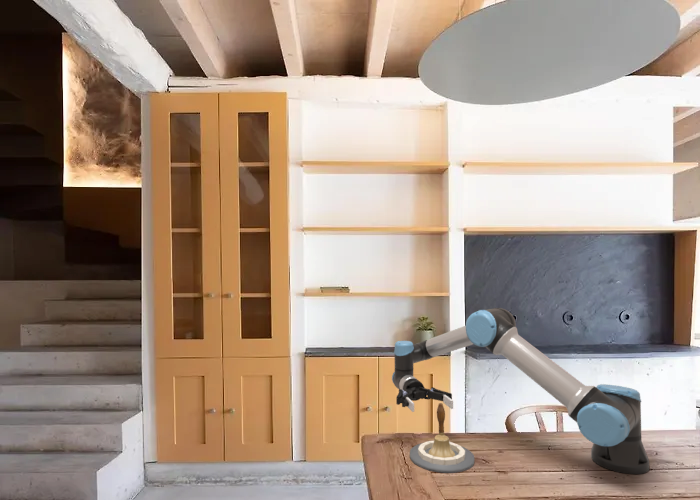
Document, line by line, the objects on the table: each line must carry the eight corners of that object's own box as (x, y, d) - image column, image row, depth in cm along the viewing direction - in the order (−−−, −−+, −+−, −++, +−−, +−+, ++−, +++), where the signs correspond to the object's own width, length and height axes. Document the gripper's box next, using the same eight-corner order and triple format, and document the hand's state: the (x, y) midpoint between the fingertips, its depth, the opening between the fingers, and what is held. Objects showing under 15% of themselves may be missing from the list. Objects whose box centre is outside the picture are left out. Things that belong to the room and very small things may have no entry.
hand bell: (453, 462, 132) (452, 409, 132) (426, 458, 134) (425, 406, 135) (456, 450, 139) (455, 400, 140) (430, 447, 142) (430, 398, 143)
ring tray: (476, 449, 143) (476, 441, 143) (472, 477, 124) (472, 468, 124) (416, 441, 150) (416, 433, 150) (403, 467, 131) (403, 458, 131)
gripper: (443, 395, 166) (468, 414, 145) (380, 400, 161) (396, 420, 141) (442, 376, 166) (467, 392, 146) (379, 379, 162) (396, 397, 141)
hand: (432, 406), depth 143 cm, fingers open, 13 cm apart
